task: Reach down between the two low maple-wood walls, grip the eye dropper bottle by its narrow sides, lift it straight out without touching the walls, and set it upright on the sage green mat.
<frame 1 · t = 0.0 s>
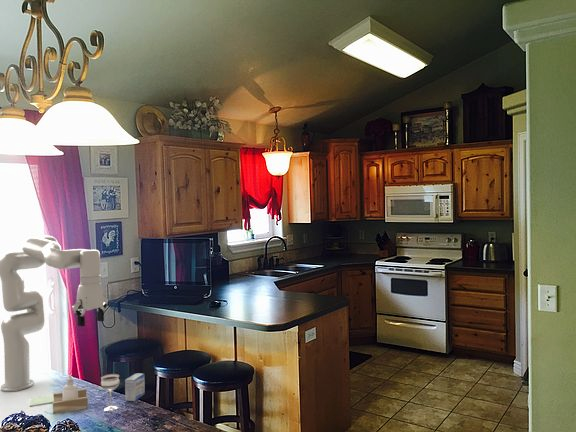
hand: (91, 323, 189), 31 cm above the table, tool pointing down, fingers open, 9 cm apart
medicine box: (135, 398, 193), on the table
eye dropper bottle: (70, 406, 185), on the table
wineglass: (110, 408, 182), on the table
maple channel: (70, 405, 185), on the table
sage mat: (43, 400, 191), on the table
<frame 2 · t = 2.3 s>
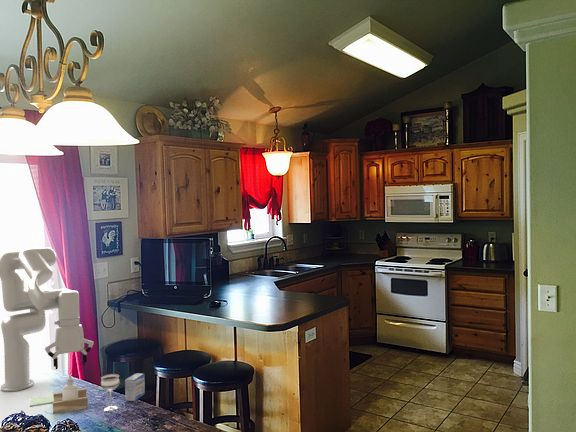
hand: (70, 366, 185), 15 cm above the table, tool pointing down, fingers open, 9 cm apart
nothing on the table moved.
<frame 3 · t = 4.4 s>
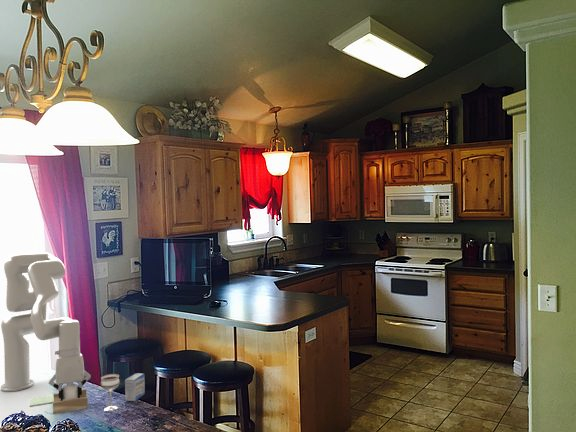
hand: (70, 398, 185), 3 cm above the table, tool pointing down, fingers closed on eye dropper bottle, 5 cm apart
eye dropper bottle: (70, 406, 185), on the table, touching gripper
everything else where it was.
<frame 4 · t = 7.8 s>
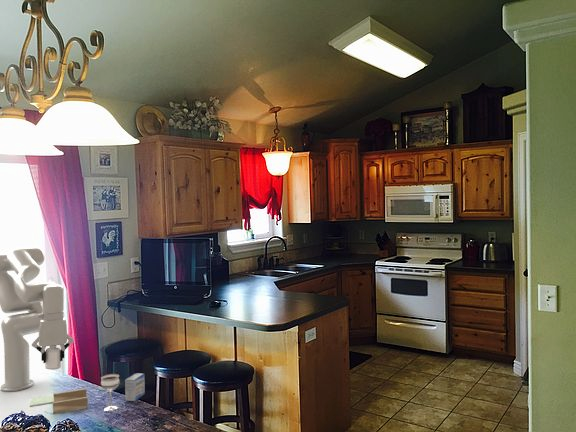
hand: (53, 360, 189), 17 cm above the table, tool pointing down, fingers closed on eye dropper bottle, 5 cm apart
eye dropper bottle: (53, 368, 189), point 13 cm above the table, touching gripper
everything else where it was.
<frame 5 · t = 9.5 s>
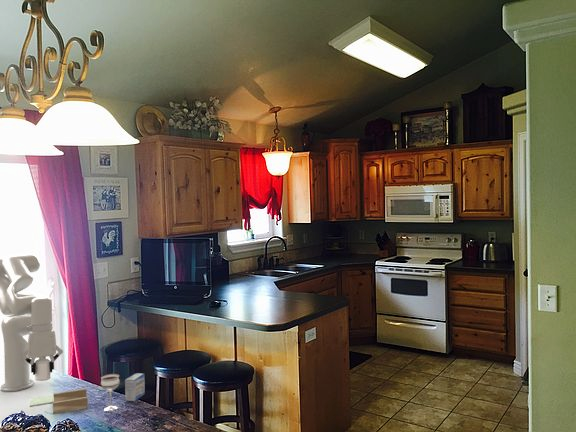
hand: (42, 372, 191), 12 cm above the table, tool pointing down, fingers closed on eye dropper bottle, 5 cm apart
eye dropper bottle: (42, 380, 191), point 8 cm above the table, touching gripper
everything else where it was.
when the fingers open (4 cm above the table, at t = 11.2 s): eye dropper bottle stays where it is, resting on sage mat.
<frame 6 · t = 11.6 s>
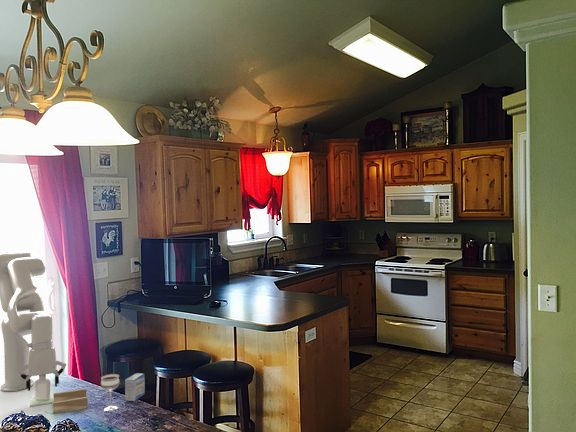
hand: (42, 387, 191), 5 cm above the table, tool pointing down, fingers open, 9 cm apart
eye dropper bottle: (42, 399, 191), resting on sage mat
everything else where it was.
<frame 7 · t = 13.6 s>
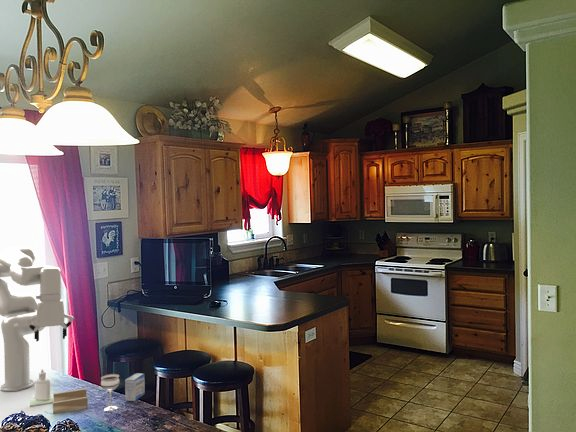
hand: (50, 339, 193), 24 cm above the table, tool pointing down, fingers open, 9 cm apart
nothing on the table moved.
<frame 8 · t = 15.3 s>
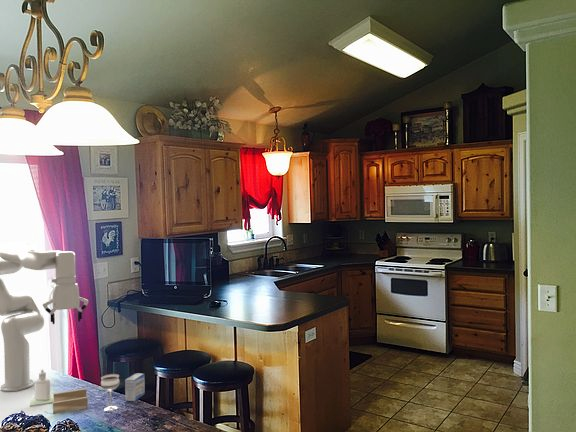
hand: (66, 322, 197), 30 cm above the table, tool pointing down, fingers open, 9 cm apart
nothing on the table moved.
at the end: eye dropper bottle inside the target area on the sage mat (0.2 cm from its centre), point 0.3 cm above the sage mat's base; eye dropper bottle tilted 0°; the gripper is holding nothing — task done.
